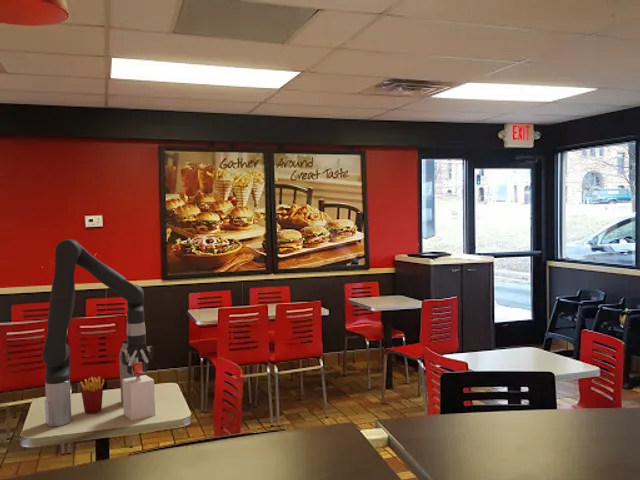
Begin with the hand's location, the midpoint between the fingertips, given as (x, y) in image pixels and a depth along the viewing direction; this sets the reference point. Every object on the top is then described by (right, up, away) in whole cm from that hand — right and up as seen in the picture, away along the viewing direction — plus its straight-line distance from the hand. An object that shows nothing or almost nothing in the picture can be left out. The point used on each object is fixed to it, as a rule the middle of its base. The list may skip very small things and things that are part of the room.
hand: (137, 372), depth 252 cm
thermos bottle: (-9, -17, +19) cm, 27 cm away
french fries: (-21, -18, +7) cm, 29 cm away
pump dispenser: (0, -18, +1) cm, 18 cm away
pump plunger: (0, -16, +1) cm, 16 cm away
